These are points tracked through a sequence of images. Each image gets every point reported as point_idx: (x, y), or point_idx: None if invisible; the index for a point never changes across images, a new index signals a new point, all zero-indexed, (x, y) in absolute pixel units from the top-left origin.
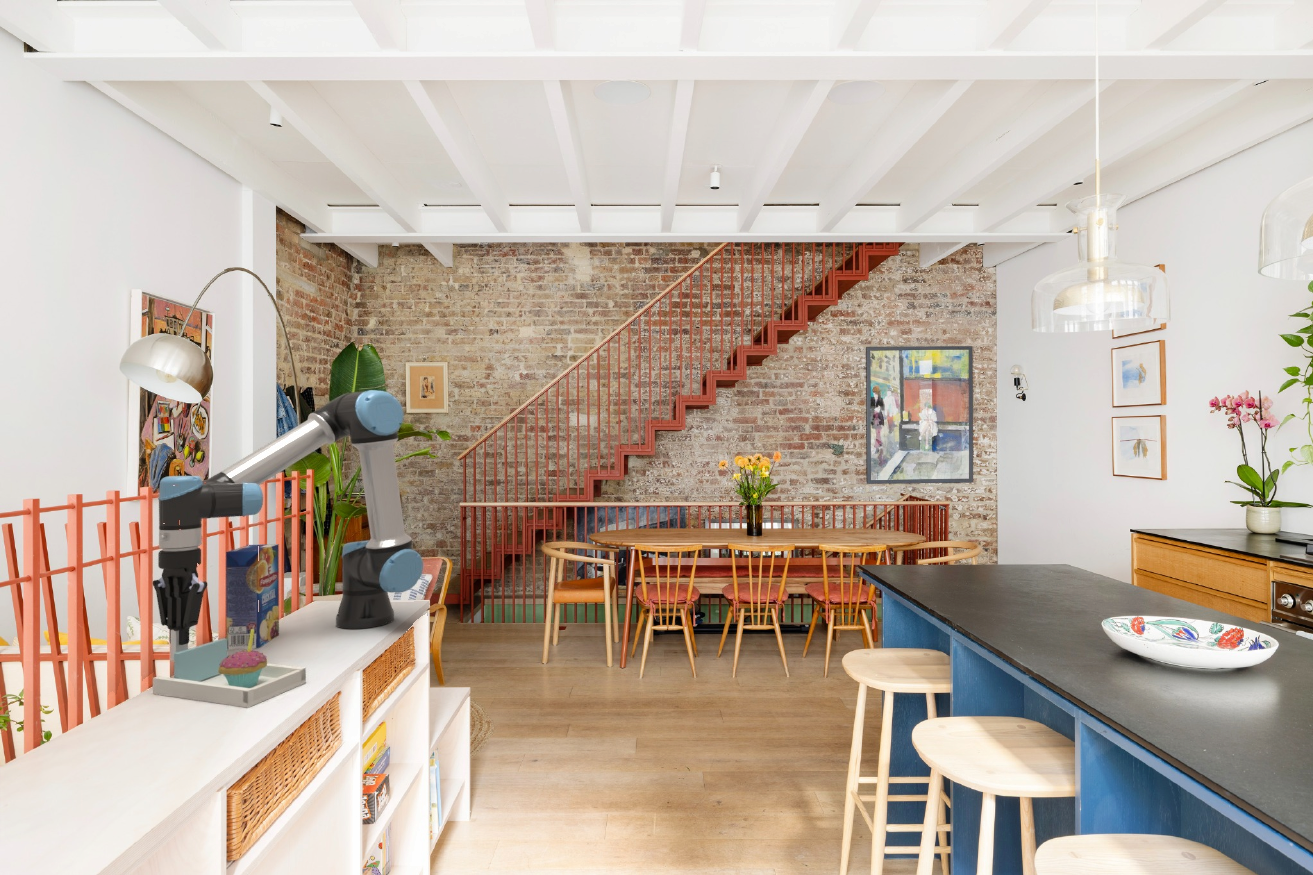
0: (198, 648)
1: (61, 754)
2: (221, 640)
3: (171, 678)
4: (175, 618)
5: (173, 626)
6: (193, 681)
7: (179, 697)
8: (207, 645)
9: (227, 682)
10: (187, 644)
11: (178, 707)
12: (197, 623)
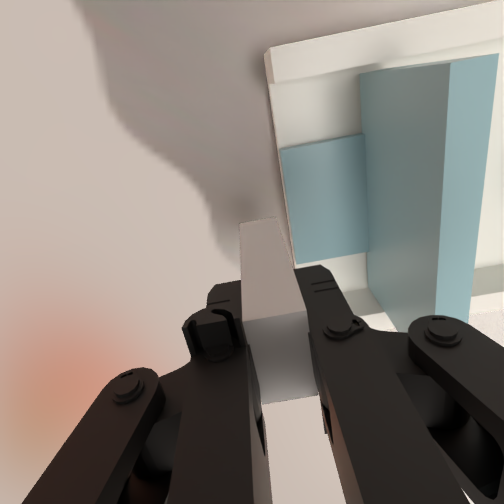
0: (468, 278)
1: (468, 498)
2: (489, 110)
3: (383, 317)
4: (262, 462)
5: (259, 407)
6: (497, 297)
7: None
8: (476, 223)
9: (499, 153)
10: (285, 248)
11: (485, 323)
12: (463, 323)
